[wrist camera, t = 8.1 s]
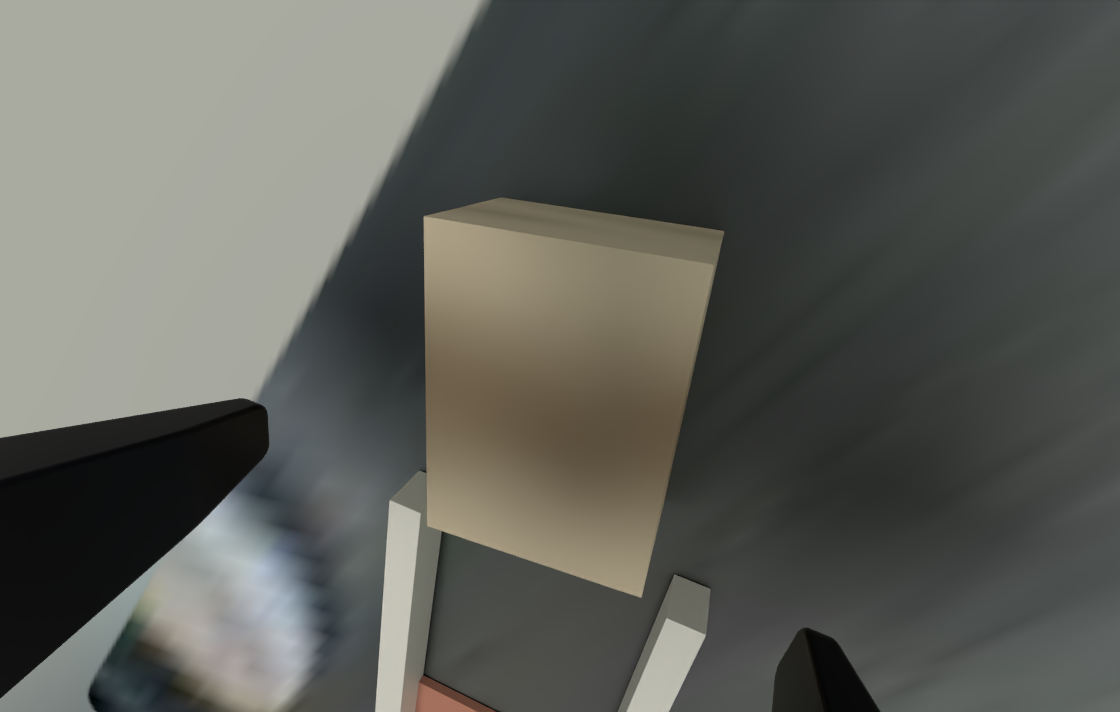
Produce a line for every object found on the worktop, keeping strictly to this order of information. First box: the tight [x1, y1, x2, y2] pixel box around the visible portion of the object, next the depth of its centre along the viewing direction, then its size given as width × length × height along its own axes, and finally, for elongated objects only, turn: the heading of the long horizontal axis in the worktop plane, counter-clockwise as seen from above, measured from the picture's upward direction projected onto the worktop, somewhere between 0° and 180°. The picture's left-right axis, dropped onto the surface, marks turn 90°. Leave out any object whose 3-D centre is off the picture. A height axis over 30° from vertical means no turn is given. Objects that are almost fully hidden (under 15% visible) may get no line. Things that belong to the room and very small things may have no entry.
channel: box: [375, 470, 711, 712], centre depth 17 cm, size 12×9×2 cm
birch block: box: [424, 197, 724, 598], centre depth 12 cm, size 7×5×4 cm
